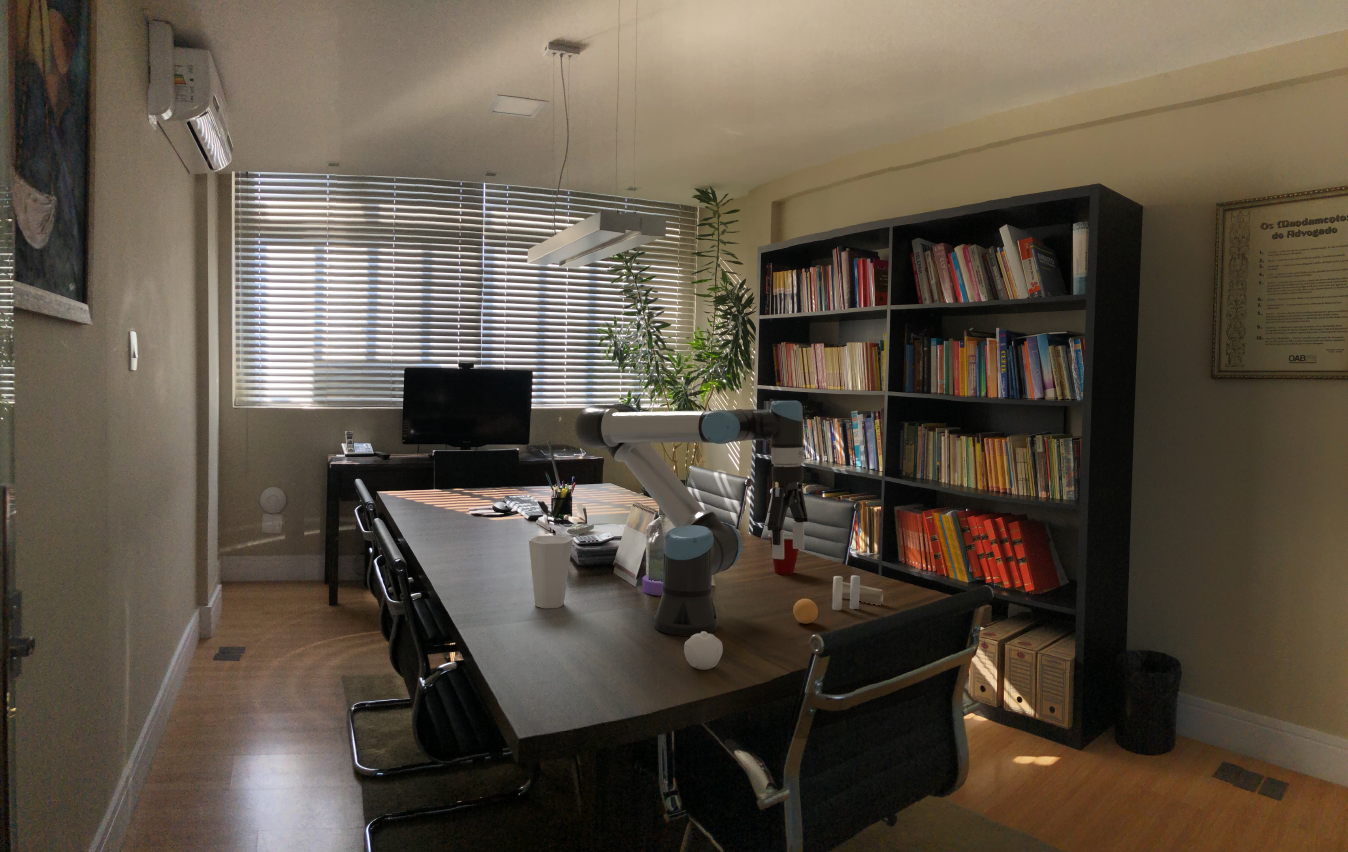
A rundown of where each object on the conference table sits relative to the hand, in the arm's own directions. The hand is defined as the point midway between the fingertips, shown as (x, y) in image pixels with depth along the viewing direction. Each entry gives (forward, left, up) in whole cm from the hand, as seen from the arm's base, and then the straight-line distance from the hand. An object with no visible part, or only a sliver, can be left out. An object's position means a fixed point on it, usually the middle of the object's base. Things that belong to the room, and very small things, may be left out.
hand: (788, 553), depth 192 cm
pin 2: (+28, +3, -18) cm, 33 cm away
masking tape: (-5, +43, -19) cm, 47 cm away
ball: (+7, 0, -15) cm, 16 cm away
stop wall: (+35, +8, -18) cm, 40 cm away
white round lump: (-34, -11, -18) cm, 40 cm away
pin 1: (+23, +4, -18) cm, 30 cm away
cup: (-39, +46, -18) cm, 63 cm away
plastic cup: (+40, +41, -18) cm, 60 cm away
